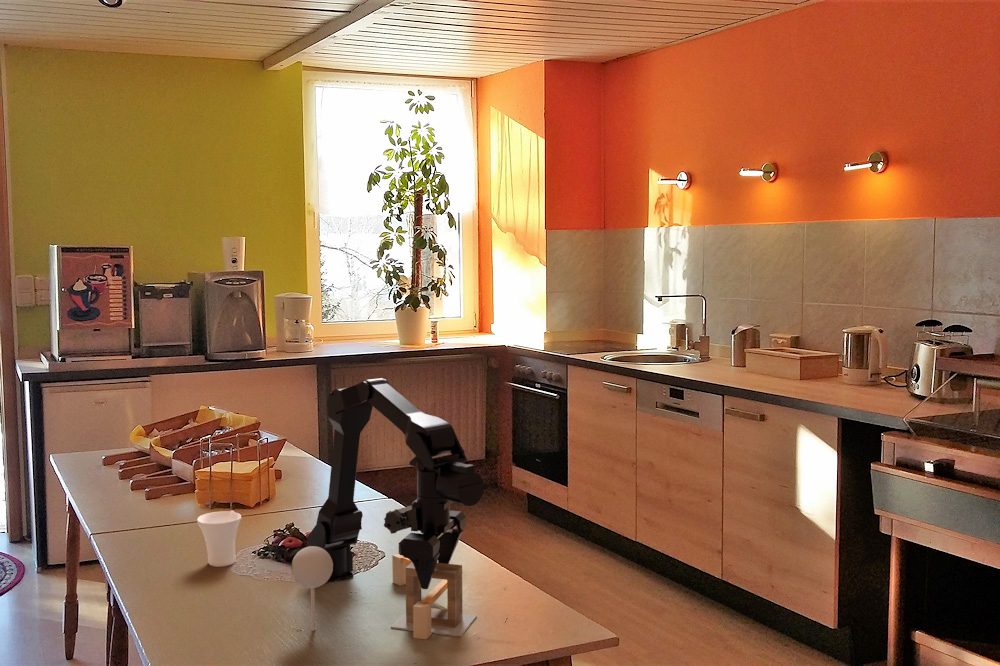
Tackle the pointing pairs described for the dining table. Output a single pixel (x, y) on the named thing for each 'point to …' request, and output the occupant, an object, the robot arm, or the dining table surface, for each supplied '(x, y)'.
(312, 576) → the lollipop
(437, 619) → the brown rectangular frame
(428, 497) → the robot arm
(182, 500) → the dining table surface
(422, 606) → the rail
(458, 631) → the mat
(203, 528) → the cup
